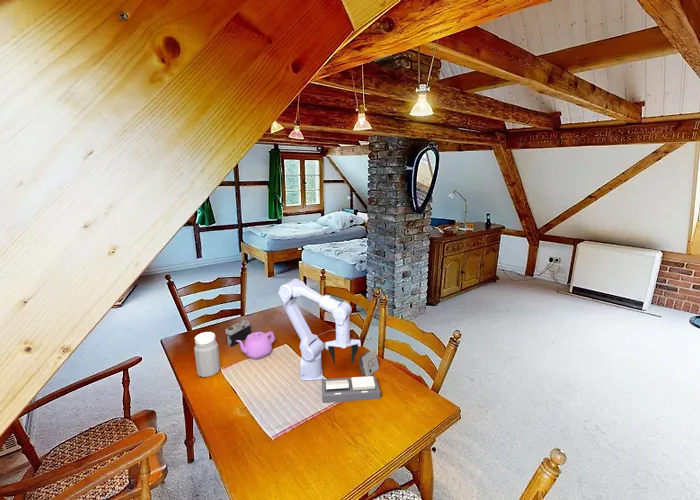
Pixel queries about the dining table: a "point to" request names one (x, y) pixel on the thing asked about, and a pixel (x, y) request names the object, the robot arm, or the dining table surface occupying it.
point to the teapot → (257, 344)
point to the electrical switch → (368, 363)
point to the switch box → (348, 392)
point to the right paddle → (363, 383)
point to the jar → (206, 354)
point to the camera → (237, 332)
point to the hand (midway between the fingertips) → (343, 361)
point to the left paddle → (337, 384)
